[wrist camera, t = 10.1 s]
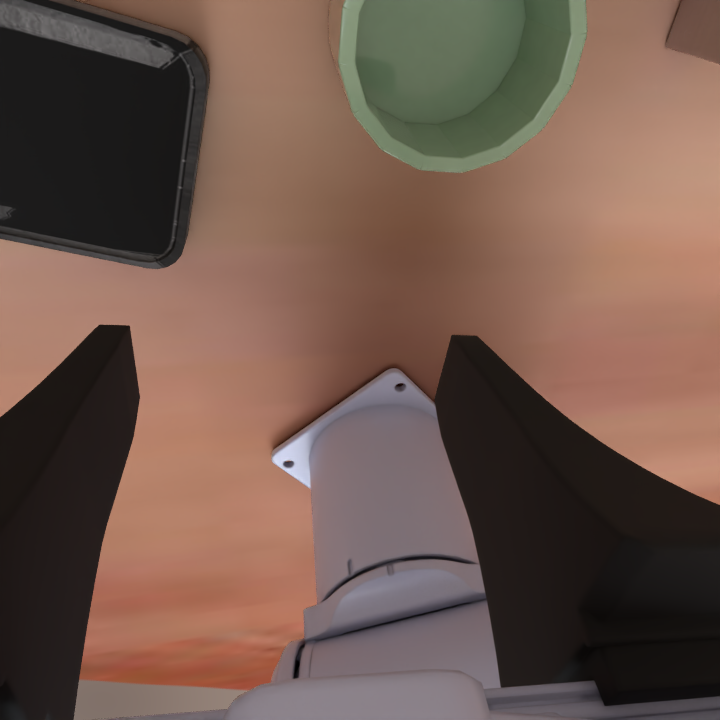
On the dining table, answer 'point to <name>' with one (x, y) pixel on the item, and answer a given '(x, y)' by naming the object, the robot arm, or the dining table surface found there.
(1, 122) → the phone
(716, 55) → the rectangular block
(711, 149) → the dining table surface
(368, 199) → the dining table surface
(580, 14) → the cup
